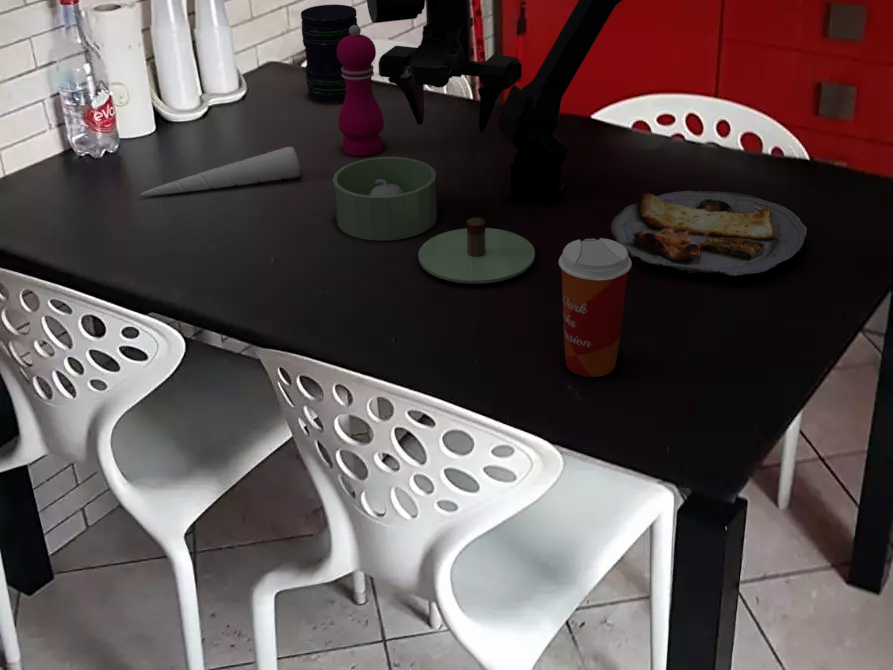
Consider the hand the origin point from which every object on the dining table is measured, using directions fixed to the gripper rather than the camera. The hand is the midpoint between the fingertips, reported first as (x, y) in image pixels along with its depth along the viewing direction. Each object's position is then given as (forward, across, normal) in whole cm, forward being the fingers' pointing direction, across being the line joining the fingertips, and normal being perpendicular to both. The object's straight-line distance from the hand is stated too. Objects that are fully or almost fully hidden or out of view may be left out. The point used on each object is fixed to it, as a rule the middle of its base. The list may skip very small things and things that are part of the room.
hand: (451, 127), depth 161 cm
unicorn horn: (+12, -35, -4) cm, 37 cm away
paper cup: (+12, +30, -34) cm, 47 cm away
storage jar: (+12, -38, +38) cm, 55 cm away
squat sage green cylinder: (+12, -8, -6) cm, 16 cm away
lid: (+11, +9, -14) cm, 20 cm away
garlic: (+12, -7, -6) cm, 15 cm away
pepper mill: (+12, -22, +16) cm, 30 cm away
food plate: (+12, +36, 0) cm, 38 cm away
